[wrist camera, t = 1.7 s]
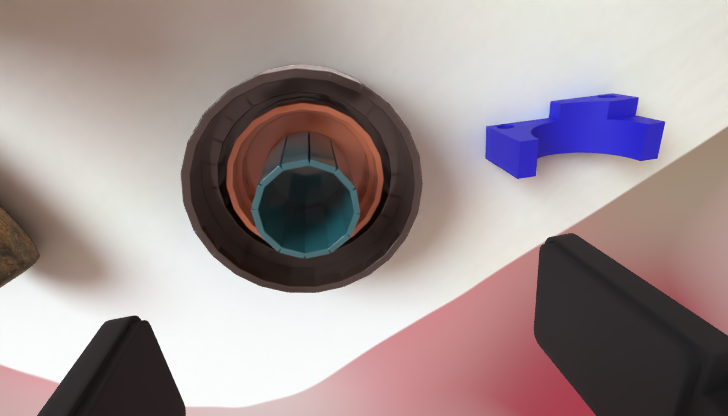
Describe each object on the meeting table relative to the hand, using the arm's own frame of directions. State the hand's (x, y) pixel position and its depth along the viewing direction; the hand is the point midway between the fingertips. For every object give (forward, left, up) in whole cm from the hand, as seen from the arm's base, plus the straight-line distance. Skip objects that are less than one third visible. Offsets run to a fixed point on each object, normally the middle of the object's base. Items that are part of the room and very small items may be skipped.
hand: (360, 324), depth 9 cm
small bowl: (+2, +4, -26) cm, 26 cm away
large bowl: (+2, +4, -26) cm, 26 cm away
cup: (+2, +4, -25) cm, 25 cm away
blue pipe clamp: (-20, +4, -26) cm, 33 cm away
